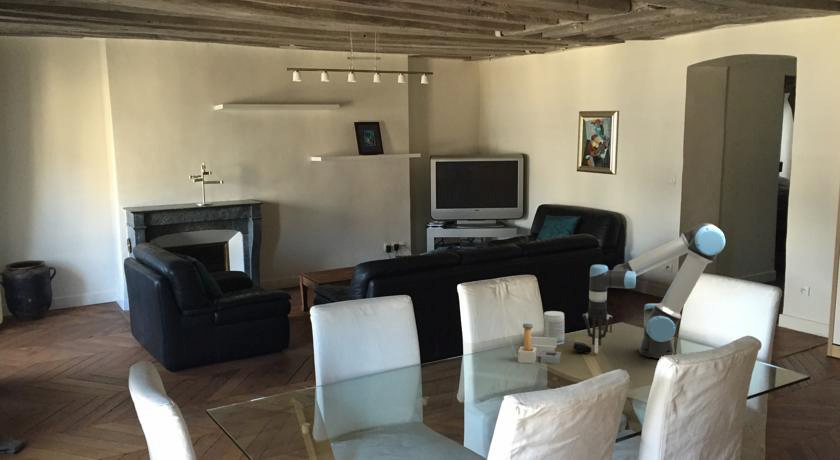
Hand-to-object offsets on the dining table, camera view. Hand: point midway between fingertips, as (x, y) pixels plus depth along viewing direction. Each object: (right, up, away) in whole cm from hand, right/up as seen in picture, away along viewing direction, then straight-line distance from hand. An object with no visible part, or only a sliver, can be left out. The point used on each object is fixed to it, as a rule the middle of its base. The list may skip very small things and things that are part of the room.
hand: (596, 352), depth 320 cm
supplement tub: (-15, 0, +20) cm, 25 cm away
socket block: (-32, -3, -6) cm, 32 cm away
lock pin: (-31, -3, -6) cm, 32 cm away
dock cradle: (-23, -1, +6) cm, 24 cm away
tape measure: (-7, -1, +2) cm, 7 cm away
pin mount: (-21, -3, -6) cm, 22 cm away
